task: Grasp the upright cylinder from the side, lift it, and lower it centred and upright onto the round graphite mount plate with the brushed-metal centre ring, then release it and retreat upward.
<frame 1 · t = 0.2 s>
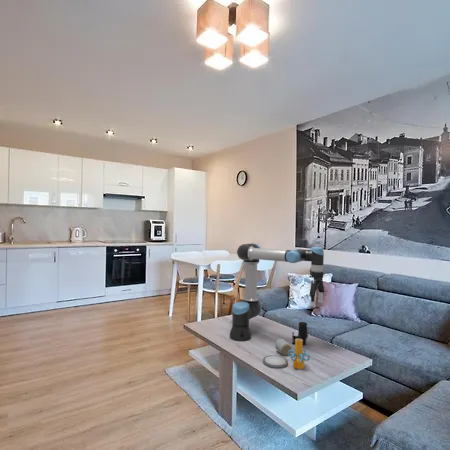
hand: (316, 304, 195), 28 cm above the table, fingers open, 13 cm apart
cylinder: (298, 367, 168), on the table
ceramic mug: (285, 353, 187), on the table
mount plate: (275, 362, 173), on the table
scope: (301, 344, 201), on the table
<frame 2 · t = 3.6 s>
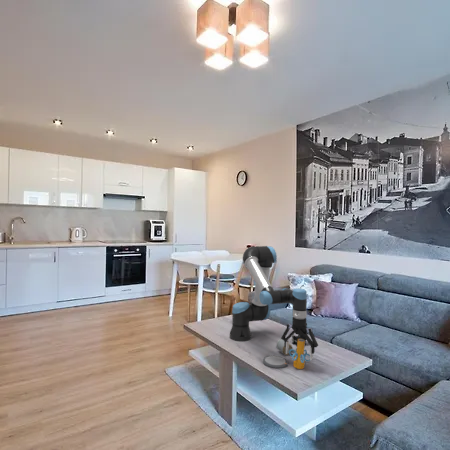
hand: (299, 356, 168), 6 cm above the table, fingers open, 13 cm apart
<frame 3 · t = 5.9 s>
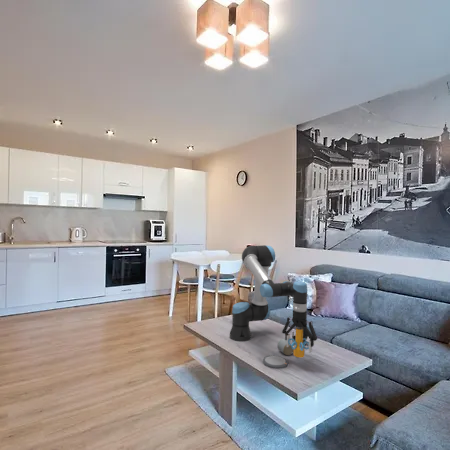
hand: (298, 349, 169), 10 cm above the table, fingers closed on cylinder, 12 cm apart
cylinder: (298, 355, 169), point 6 cm above the table, touching gripper
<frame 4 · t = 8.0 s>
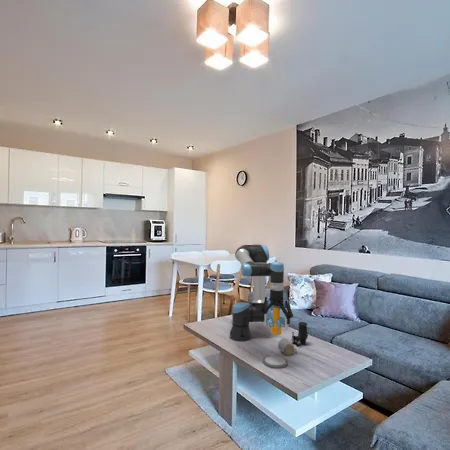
hand: (276, 327, 173), 20 cm above the table, fingers closed on cylinder, 12 cm apart
cylinder: (275, 333, 173), point 16 cm above the table, touching gripper
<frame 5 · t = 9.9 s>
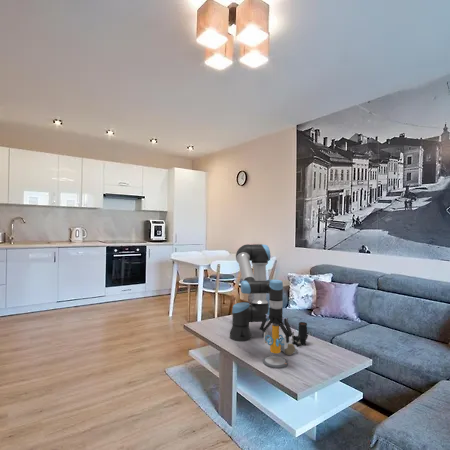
hand: (275, 345, 173), 10 cm above the table, fingers closed on cylinder, 12 cm apart
cylinder: (275, 351, 173), point 6 cm above the table, touching gripper
when the fingers open (6 cm above the table, at t = 11.8 s): cylinder drops 1 cm, resting on mount plate.
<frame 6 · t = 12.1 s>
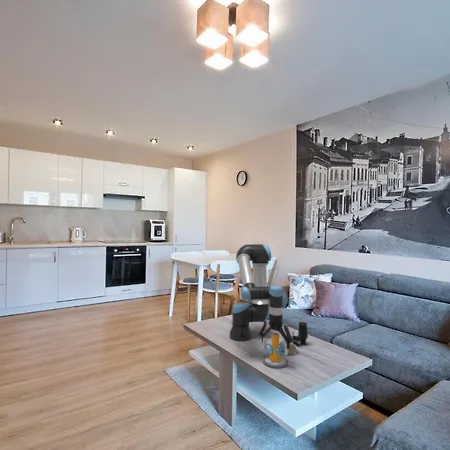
hand: (275, 351, 173), 7 cm above the table, fingers open, 13 cm apart
cylinder: (275, 360, 173), point 1 cm above the table, touching mount plate
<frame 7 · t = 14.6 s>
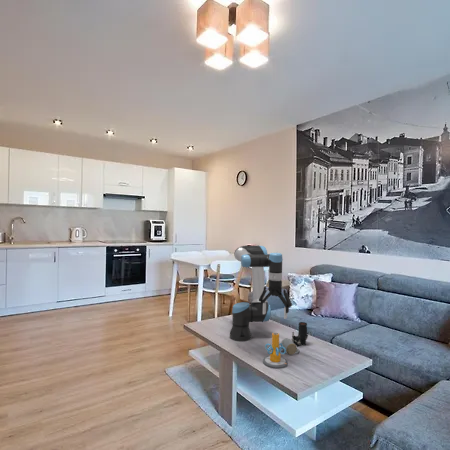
hand: (274, 316, 178), 25 cm above the table, fingers open, 13 cm apart
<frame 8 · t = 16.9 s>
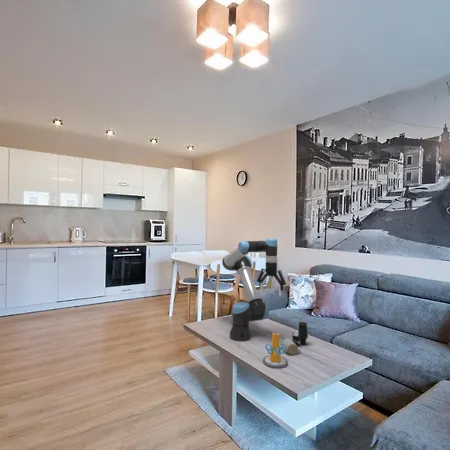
hand: (270, 294, 202), 33 cm above the table, fingers open, 13 cm apart
at the end: cylinder 0.1 cm from the mount plate (horizontally); cylinder tilted 0°; cylinder touching mount plate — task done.
